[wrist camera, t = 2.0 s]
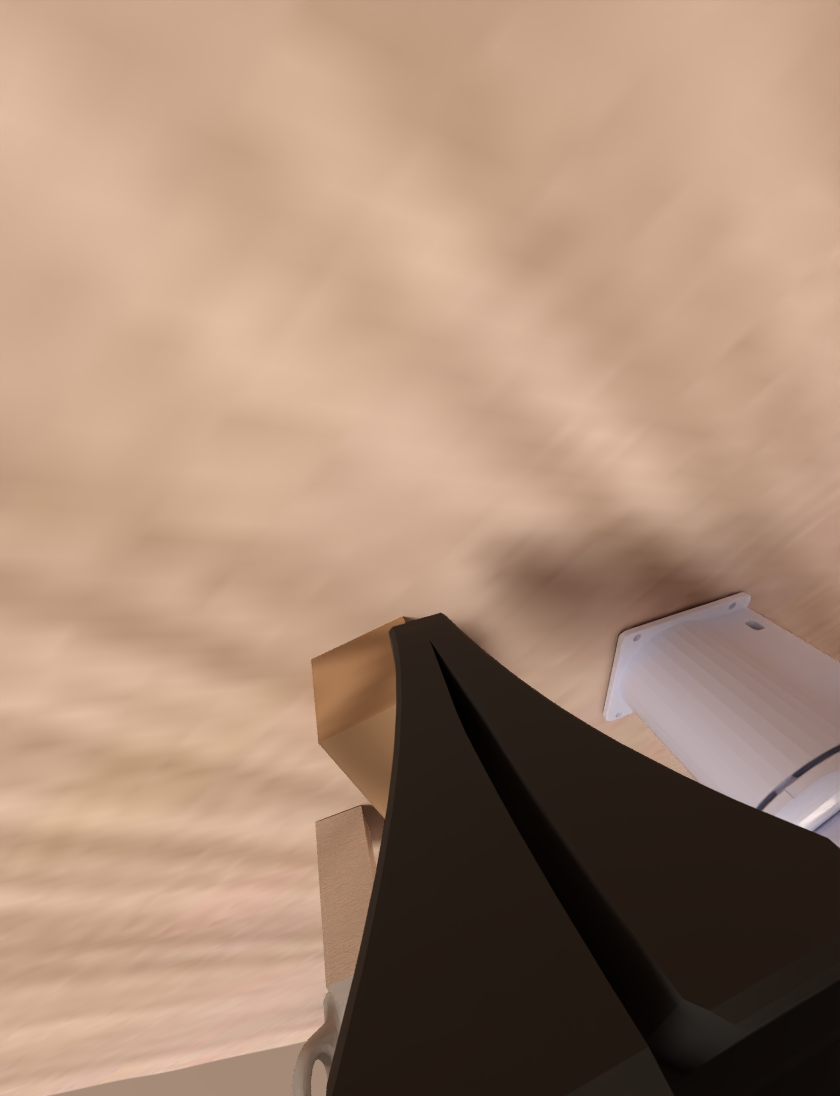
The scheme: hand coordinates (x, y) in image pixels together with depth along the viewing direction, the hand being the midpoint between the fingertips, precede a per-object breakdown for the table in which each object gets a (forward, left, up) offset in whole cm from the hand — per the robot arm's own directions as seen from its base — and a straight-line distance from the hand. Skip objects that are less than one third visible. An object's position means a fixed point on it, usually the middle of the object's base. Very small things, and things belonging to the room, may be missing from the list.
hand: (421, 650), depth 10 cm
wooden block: (0, +12, -7) cm, 14 cm away
